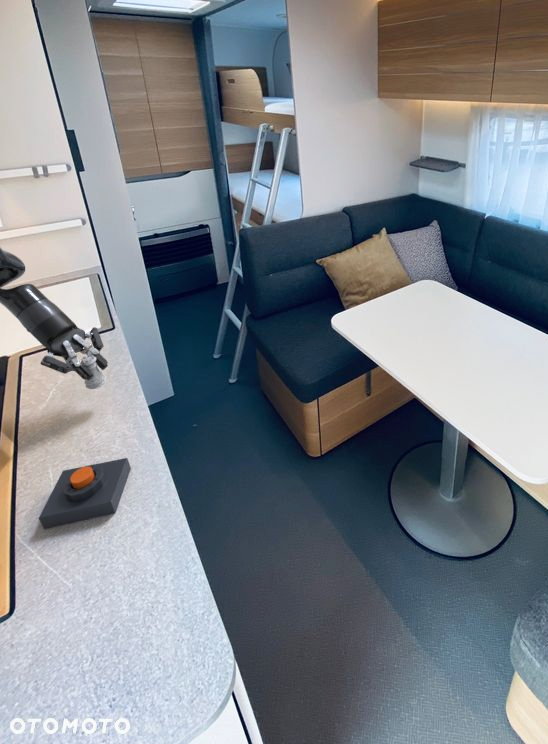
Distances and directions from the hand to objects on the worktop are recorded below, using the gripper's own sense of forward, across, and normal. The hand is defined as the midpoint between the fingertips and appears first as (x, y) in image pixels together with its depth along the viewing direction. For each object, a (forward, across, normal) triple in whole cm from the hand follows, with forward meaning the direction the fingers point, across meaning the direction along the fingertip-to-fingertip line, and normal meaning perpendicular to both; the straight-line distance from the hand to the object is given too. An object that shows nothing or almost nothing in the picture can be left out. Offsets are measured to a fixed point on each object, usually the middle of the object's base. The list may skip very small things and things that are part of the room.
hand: (98, 372), depth 100 cm
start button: (+17, -20, -8) cm, 27 cm away
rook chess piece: (+2, 0, +4) cm, 5 cm away
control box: (+20, -20, -5) cm, 28 cm away
